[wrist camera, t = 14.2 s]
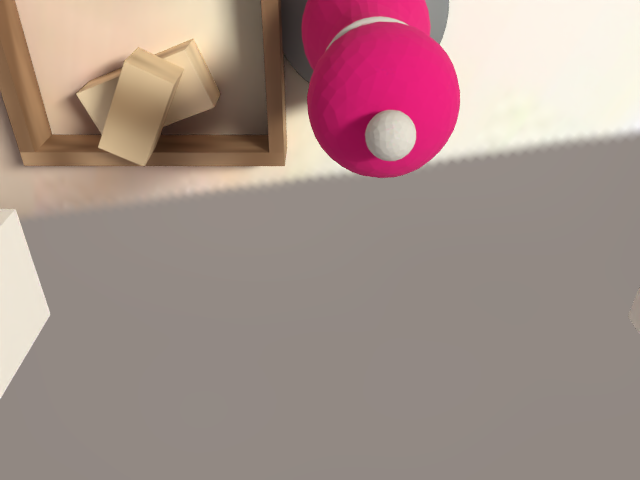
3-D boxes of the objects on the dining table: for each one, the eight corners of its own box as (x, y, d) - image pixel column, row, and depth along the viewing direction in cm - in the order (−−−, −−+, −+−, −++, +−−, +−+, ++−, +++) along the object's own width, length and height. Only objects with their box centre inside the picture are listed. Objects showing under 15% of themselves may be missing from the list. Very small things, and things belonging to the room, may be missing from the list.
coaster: (277, 94, 40) (277, 98, 39) (269, -88, 34) (268, -87, 33) (436, 94, 40) (438, 98, 39) (457, -89, 33) (460, -88, 33)
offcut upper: (155, 147, 39) (144, 166, 37) (112, 128, 38) (97, 147, 36) (184, 68, 36) (174, 84, 34) (138, 47, 35) (124, 61, 33)
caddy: (42, 147, 42) (24, 165, 39) (-52, -172, 31) (-84, -174, 29) (286, 147, 42) (284, 166, 39) (275, -172, 31) (271, -175, 29)
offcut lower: (122, 130, 42) (109, 147, 39) (91, 79, 40) (75, 93, 37) (221, 92, 40) (214, 107, 37) (194, 37, 38) (185, 49, 35)
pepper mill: (374, 91, 39) (412, 265, 22) (282, 32, 37) (247, 174, 20) (442, -5, 35) (548, 115, 19) (345, -77, 33) (367, -15, 16)
